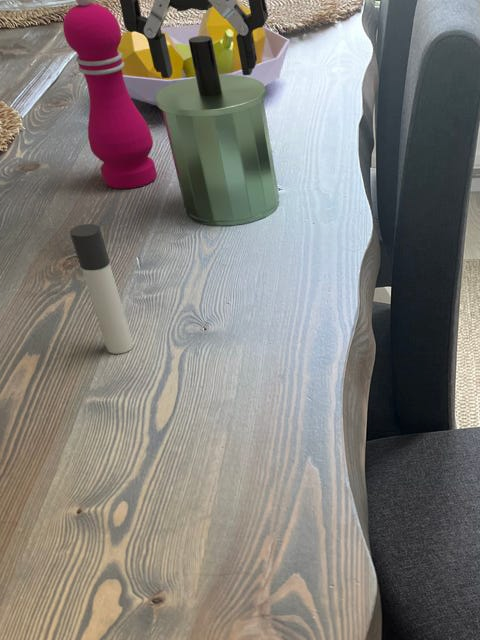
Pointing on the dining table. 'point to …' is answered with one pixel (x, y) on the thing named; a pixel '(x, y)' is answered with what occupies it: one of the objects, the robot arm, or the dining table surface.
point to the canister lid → (209, 87)
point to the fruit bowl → (148, 81)
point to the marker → (102, 287)
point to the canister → (224, 165)
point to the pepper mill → (109, 98)
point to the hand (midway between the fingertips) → (207, 74)
